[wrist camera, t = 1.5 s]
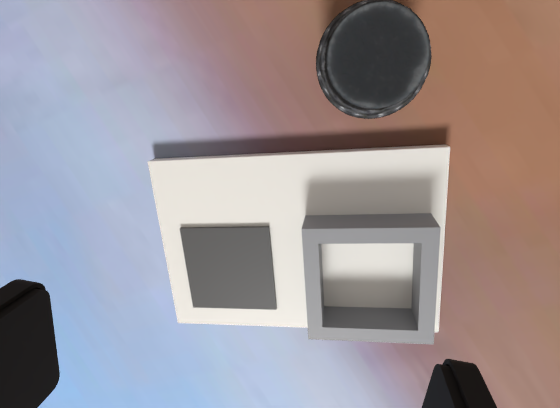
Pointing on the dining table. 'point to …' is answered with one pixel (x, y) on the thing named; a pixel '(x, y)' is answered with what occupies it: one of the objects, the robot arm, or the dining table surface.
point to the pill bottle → (373, 58)
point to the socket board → (308, 240)
